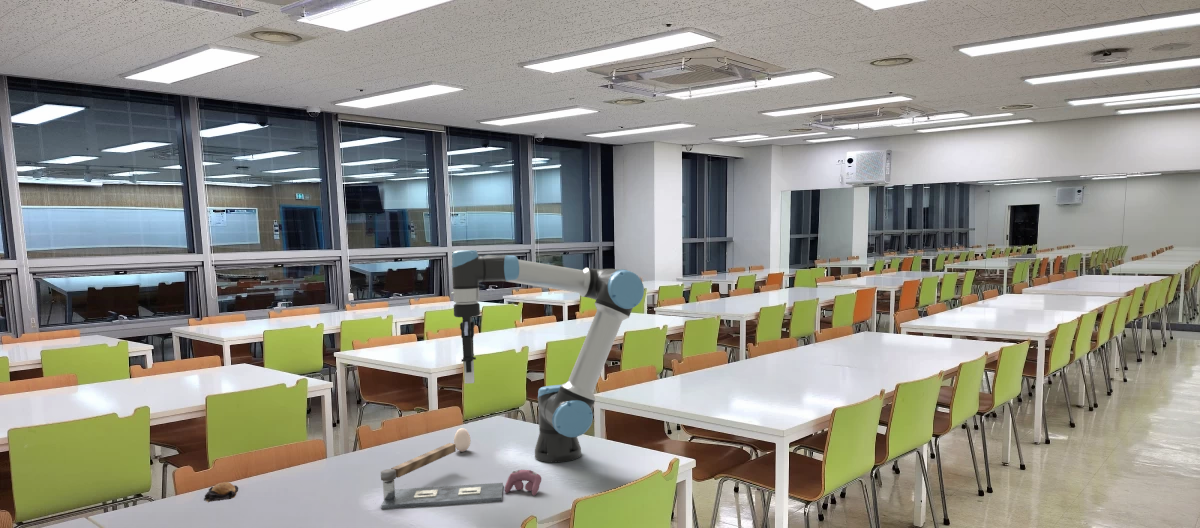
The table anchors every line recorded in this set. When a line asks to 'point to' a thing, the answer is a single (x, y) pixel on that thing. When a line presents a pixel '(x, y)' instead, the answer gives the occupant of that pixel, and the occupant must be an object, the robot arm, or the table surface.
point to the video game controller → (523, 475)
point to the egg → (462, 440)
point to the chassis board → (440, 495)
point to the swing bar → (417, 462)
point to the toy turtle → (221, 492)
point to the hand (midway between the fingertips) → (469, 382)
